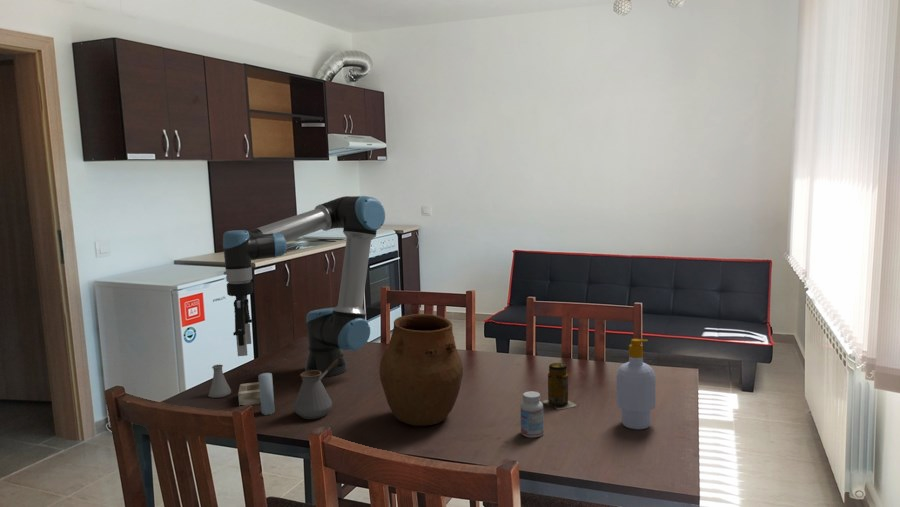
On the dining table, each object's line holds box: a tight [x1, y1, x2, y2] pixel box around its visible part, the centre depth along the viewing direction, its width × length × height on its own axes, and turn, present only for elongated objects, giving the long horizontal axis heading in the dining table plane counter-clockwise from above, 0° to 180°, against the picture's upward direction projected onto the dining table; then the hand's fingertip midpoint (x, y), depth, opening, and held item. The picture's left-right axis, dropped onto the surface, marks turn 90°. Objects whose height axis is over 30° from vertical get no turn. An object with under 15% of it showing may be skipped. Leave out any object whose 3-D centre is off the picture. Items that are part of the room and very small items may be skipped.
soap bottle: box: [616, 338, 657, 430], centre depth 177 cm, size 10×10×24 cm
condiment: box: [541, 362, 578, 411], centre depth 196 cm, size 7×8×12 cm
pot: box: [379, 313, 464, 427], centre depth 186 cm, size 24×24×30 cm
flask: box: [208, 364, 232, 399], centre depth 216 cm, size 7×7×10 cm
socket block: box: [237, 381, 261, 407], centre depth 211 cm, size 10×10×4 cm
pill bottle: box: [520, 390, 545, 439], centre depth 175 cm, size 6×6×11 cm
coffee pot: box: [293, 353, 348, 420], centre depth 199 cm, size 21×12×15 cm, turn 149°
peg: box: [257, 372, 276, 416], centre depth 198 cm, size 4×4×12 cm
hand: (244, 349), depth 199 cm, fingers open, 13 cm apart
